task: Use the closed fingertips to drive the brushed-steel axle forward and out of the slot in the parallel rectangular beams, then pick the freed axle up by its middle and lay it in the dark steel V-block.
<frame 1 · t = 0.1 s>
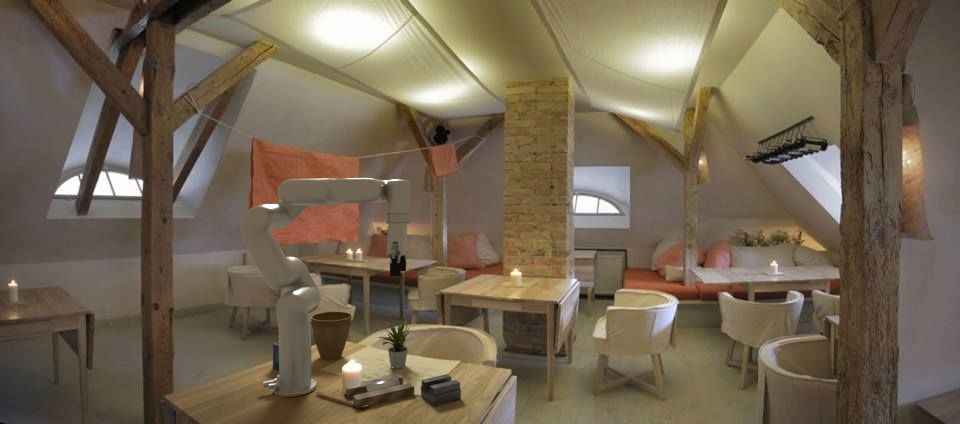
hand: (398, 273, 145), 37 cm above the table, tool pointing down, fingers open, 9 cm apart
house plant: (397, 365, 168), on the table
parallel rectangular beams: (379, 394, 143), on the table
plant pot: (331, 357, 176), on the table
flask: (283, 370, 163), on the table
v-block: (440, 397, 141), on the table
axle: (382, 394, 143), on the table
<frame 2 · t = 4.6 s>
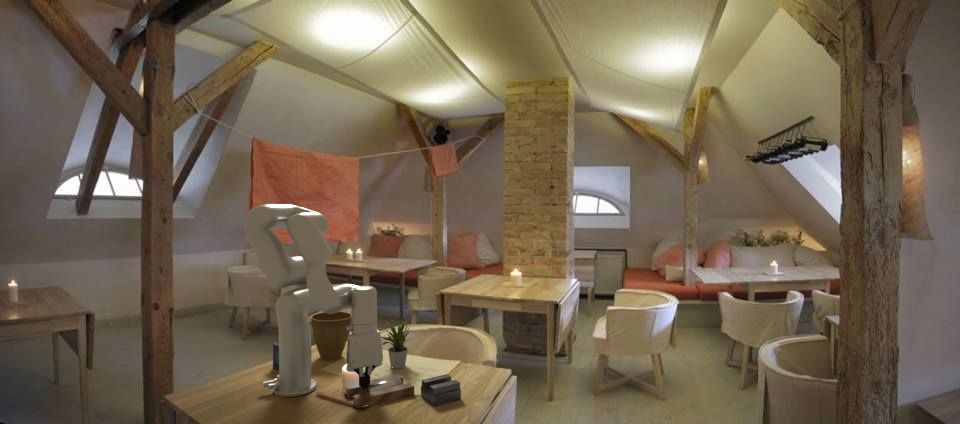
hand: (364, 387, 140), 3 cm above the table, tool pointing down, fingers closed
axle: (384, 393, 143), on the table, tilted 15°, touching gripper
everything else where it was.
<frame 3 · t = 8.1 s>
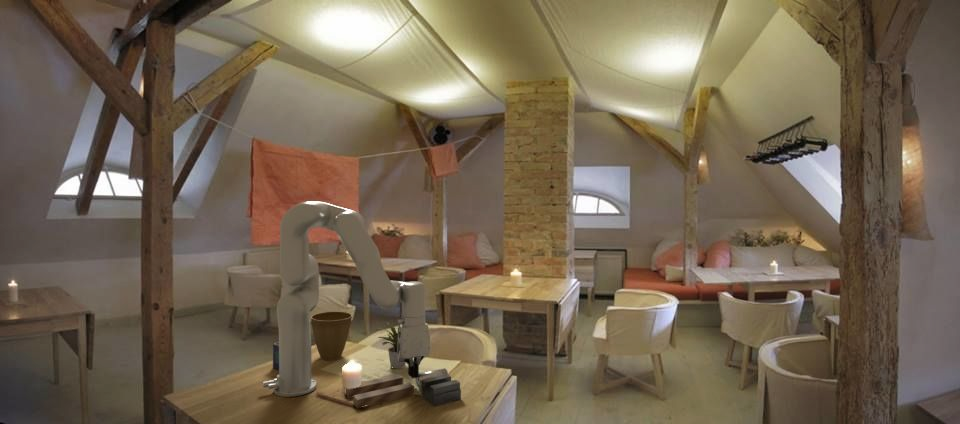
hand: (413, 376, 149), 3 cm above the table, tool pointing down, fingers closed
axle: (431, 382, 152), on the table, tilted 15°, touching gripper
everything else where it was.
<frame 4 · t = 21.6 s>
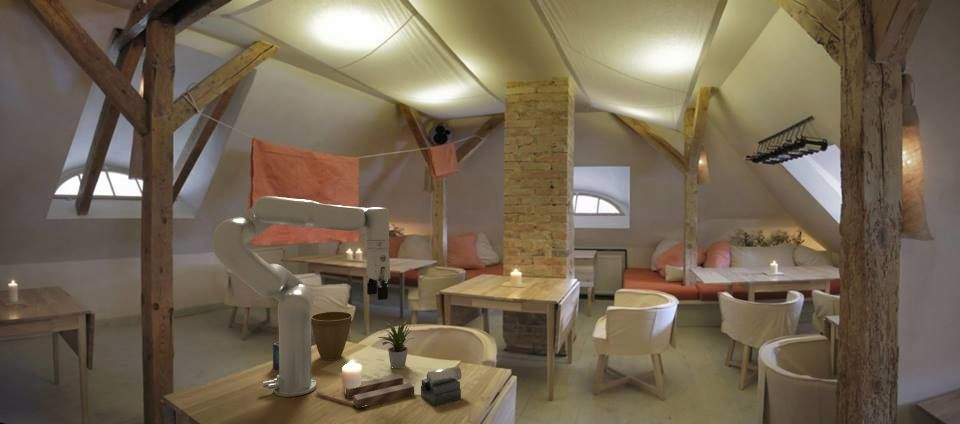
hand: (377, 296, 152), 28 cm above the table, tool pointing down, fingers open, 9 cm apart
axle: (445, 382, 140), point 5 cm above the table, tilted 37°, touching v-block
everything else where it was.
at the end: axle 1.6 cm off-centre on the v-block, point 4.8 cm above the v-block's base; the gripper is holding nothing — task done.
